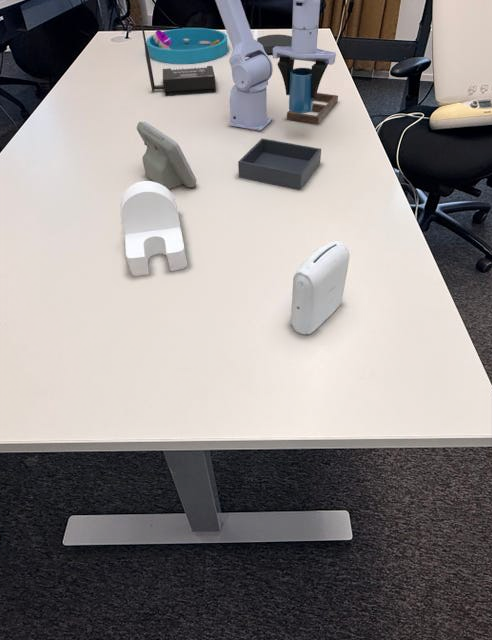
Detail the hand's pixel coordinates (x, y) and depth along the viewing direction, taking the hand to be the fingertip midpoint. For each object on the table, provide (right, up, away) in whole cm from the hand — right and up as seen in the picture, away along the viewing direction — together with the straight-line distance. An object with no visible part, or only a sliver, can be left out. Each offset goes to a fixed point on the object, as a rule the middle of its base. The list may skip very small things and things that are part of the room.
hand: (301, 95), depth 105 cm
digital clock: (-31, -22, -5) cm, 38 cm away
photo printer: (-1, -57, -35) cm, 67 cm away
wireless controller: (-34, +23, +34) cm, 54 cm away
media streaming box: (-3, +54, +57) cm, 79 cm away
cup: (0, -2, +2) cm, 3 cm away
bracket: (-30, -42, -21) cm, 56 cm away
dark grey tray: (-5, -20, -4) cm, 21 cm away
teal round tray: (-37, +53, +59) cm, 87 cm away
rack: (+5, +8, +19) cm, 21 cm away
